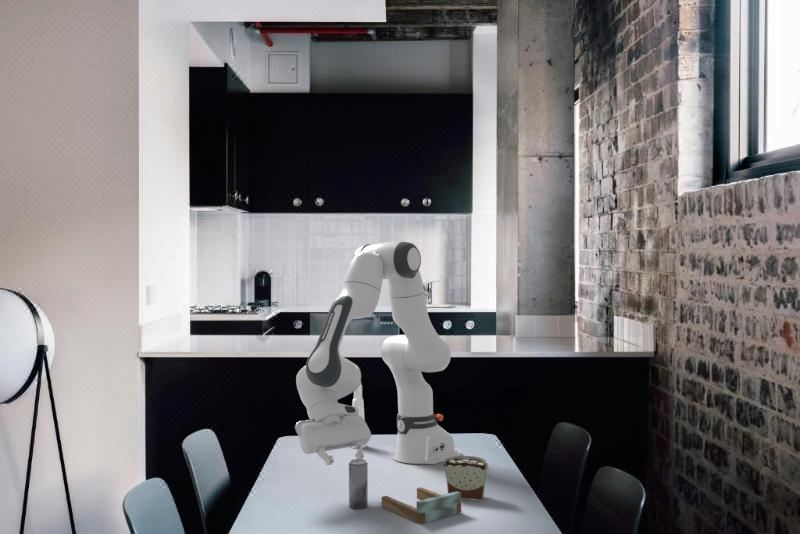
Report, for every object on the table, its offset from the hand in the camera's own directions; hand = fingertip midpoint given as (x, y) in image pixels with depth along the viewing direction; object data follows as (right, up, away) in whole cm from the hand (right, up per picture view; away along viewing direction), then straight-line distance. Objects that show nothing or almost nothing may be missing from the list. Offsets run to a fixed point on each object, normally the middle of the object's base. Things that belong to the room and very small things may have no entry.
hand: (346, 461), depth 195 cm
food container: (+32, -11, +4) cm, 34 cm away
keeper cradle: (+19, -11, -7) cm, 23 cm away
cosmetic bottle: (0, -10, +58) cm, 58 cm away
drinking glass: (+3, -11, -4) cm, 12 cm away
